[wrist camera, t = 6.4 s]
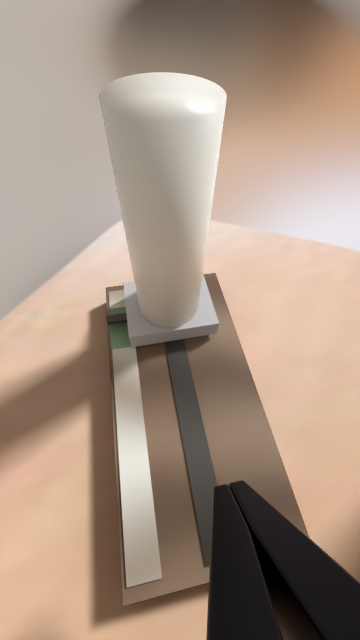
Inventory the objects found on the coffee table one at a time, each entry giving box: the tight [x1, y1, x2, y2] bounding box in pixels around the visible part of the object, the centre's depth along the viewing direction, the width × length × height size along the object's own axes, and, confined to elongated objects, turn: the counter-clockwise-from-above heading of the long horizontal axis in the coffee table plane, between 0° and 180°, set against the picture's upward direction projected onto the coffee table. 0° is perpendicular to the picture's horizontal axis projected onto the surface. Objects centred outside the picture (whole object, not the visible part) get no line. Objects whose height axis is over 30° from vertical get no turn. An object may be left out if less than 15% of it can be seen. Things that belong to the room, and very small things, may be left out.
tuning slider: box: [99, 72, 227, 347], centre depth 12 cm, size 4×6×11 cm, turn 101°
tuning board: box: [106, 273, 309, 606], centre depth 15 cm, size 16×8×2 cm, turn 11°
